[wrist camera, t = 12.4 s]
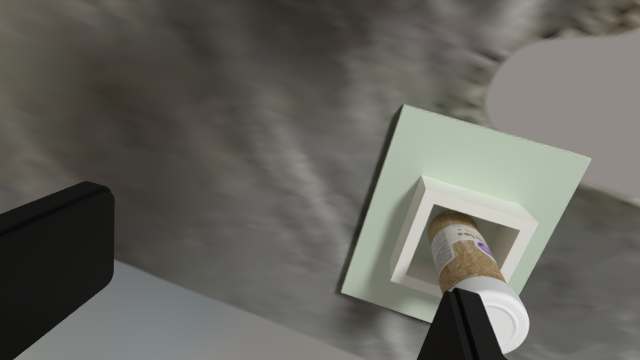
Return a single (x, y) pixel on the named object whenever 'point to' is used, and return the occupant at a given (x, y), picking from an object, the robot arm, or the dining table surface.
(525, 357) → the dining table surface
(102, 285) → the robot arm
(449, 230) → the sprinkles bottle
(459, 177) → the chute mount
